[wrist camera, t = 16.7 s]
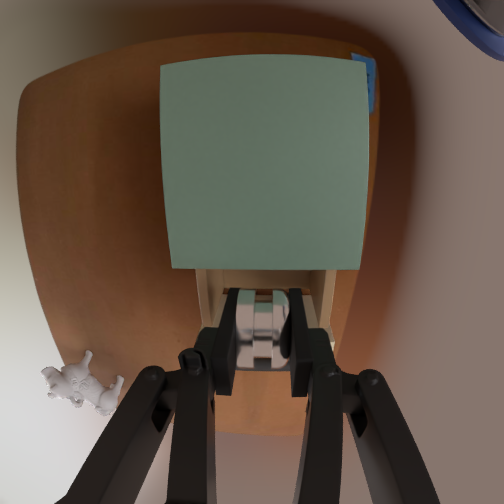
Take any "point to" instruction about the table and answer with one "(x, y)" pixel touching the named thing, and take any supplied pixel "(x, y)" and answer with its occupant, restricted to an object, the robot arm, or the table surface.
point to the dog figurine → (82, 386)
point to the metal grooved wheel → (262, 328)
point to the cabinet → (265, 162)
